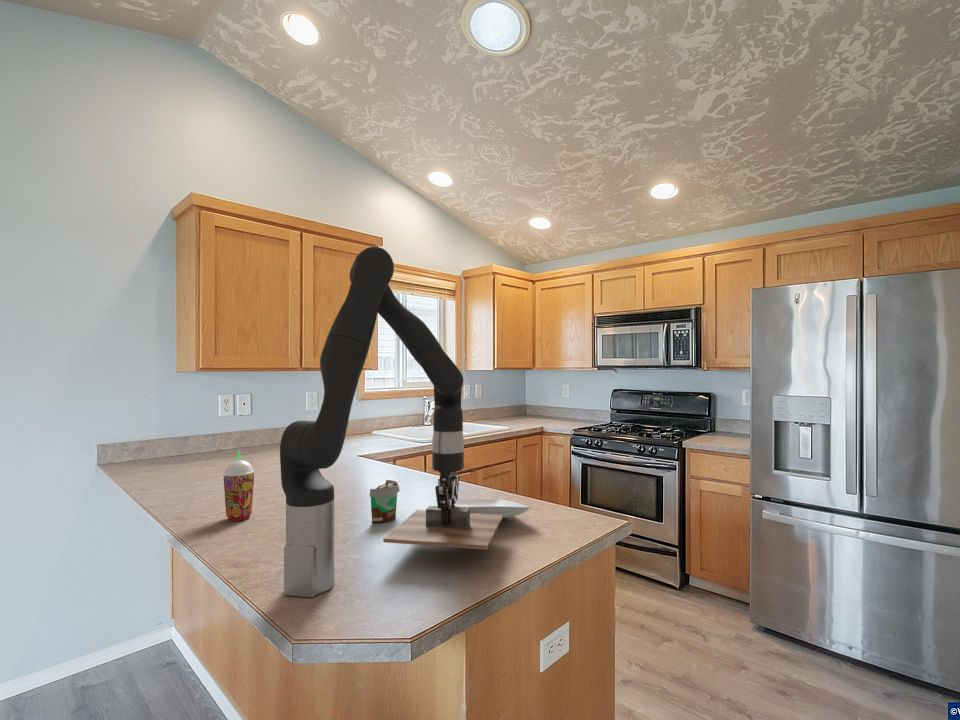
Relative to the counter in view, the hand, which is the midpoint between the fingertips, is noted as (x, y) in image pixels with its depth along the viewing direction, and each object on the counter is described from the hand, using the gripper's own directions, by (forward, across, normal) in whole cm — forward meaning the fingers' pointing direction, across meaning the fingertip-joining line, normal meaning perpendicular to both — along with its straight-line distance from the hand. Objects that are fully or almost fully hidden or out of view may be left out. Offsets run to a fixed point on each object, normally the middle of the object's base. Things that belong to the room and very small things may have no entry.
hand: (448, 522), depth 114 cm
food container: (+7, +22, +24) cm, 34 cm away
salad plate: (+5, +24, -3) cm, 25 cm away
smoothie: (+7, +15, +68) cm, 70 cm away
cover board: (+2, 0, 0) cm, 2 cm away
